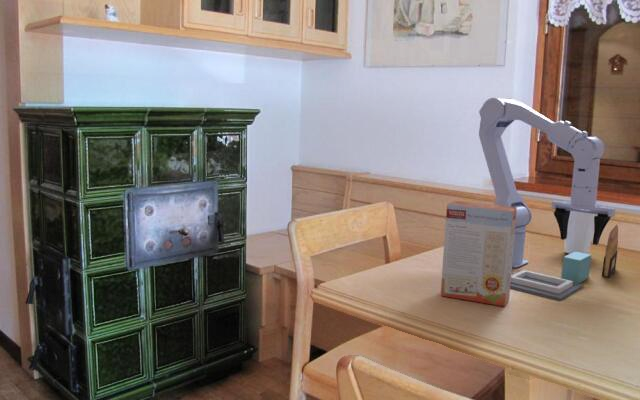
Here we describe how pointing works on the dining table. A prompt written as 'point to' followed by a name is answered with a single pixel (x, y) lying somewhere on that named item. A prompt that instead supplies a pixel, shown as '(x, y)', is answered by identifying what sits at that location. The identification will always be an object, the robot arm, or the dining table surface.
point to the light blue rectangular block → (576, 267)
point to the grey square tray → (543, 285)
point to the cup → (579, 232)
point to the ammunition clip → (610, 253)
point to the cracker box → (478, 252)
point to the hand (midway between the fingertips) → (579, 241)
